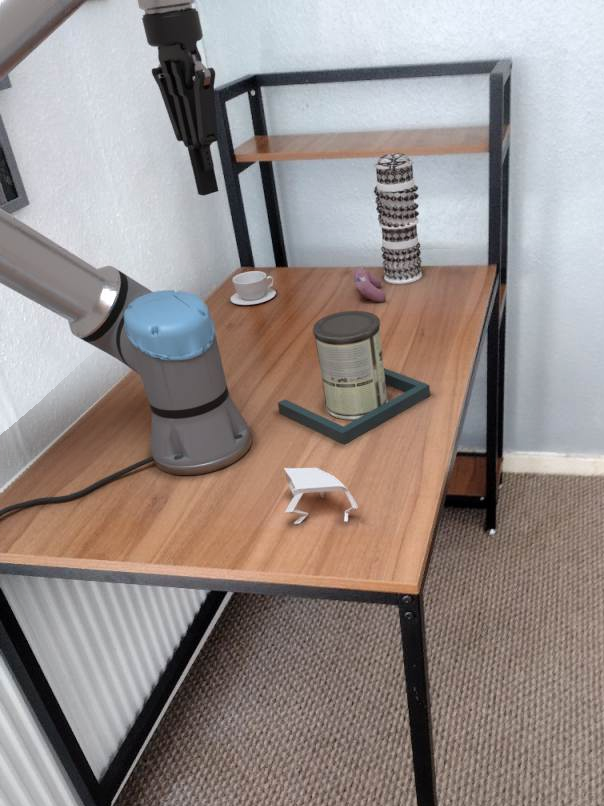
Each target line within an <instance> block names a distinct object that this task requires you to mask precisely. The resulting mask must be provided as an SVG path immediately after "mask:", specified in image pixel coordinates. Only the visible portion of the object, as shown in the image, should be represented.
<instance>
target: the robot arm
mask: <svg viewBox="0 0 604 806" xmlns="http://www.w3.org/2000/svg"><path fill="white" fill-rule="evenodd" d="M88 1H89V0H0V82H1V81H3V80H4V79H5V78H6V77H7V76H8V75H9V74H10V73H11V72H12V71H13V70H15V69H16V67H18V66H19V65H20V64H21V63H22V62H23V61H24V60H25V59H26V58H28V57H29V56H30V55H31V54H32V53H33V52H34V51H35V50H36V49H37V48H38V47H40V45H41V44H42V43H44V42H45V41H46V40H47V39H48V38H49V37H50V36H52V34H53V33H55V31H56V30H58V29H59V28H60V27H61V26H62V25H63V24H64V23H65V22H66V21H67V20H69V19H70V18H71V16H73V15H74V14H75V13H76V12H77V11H79V9H80V8H81V7H82V6H84V4H86V3H87V2H88ZM195 3H196V0H137V4H138V8H139V9H140V10H142V11H143V12H144V14H143V15H142V18H141V20H142V25H143V29H144V33H145V37H146V41H147V44H148V45H149V46H150V47H152V48H153V47H154V48H155V47H156V48H157V58H158V59H157V60H158V62H159V64H158V66H157V67H153V68H151V75H152V77H153V79H154V81H155V83H156V85H157V87H158V89H159V91H160V95H161V97H162V100H163V103H164V106H165V109H166V113H167V115H168V118H169V121H170V125H171V126H172V130H173V132H174V135H175V138H176V141H178V142H183V145H184V147H185V148H187V152H188V156H189V161H190V165H191V167H192V172H193V177H194V181H195V186H196V190H197V195H200V196H207V195H210V194H214V193H217V192H219V187H218V182H217V181H218V180H217V177H216V172H215V165H214V160H213V156H212V150H211V145H212V144H214V143H215V142H217V141H218V139H219V138H218V124H217V112H216V110H217V109H216V98H215V97H216V96H215V80H216V71H215V69H214V67H208V68H207V67H206V66H205V65H204V63H203V61H202V55H201V54H200V51H199V48H198V45H197V43H198V42H199V41H201V40H202V38H203V36H204V35H203V29H202V25H201V19H200V15H199V10H197V8H195V7H193V4H195ZM0 284H2V285H3V286H5V287H7V288H9V289H11V290H13V291H14V292H16V293H18V294H20V295H21V296H23V297H25V298H27V299H29V300H30V301H32V302H33V303H36V304H38V305H40V306H42V307H43V308H44V309H46V310H49V311H50V312H52V313H54V314H55V315H58V316H59V317H61V318H63V319H64V320H67V322H68V327H69V330H70V333H71V334H72V335H73V336H75V337H77V338H78V339H80V340H82V341H84V342H85V343H88V344H89V345H91V346H93V347H95V348H96V349H98V350H100V351H102V352H104V353H106V354H108V355H109V356H110V357H113V358H115V359H117V360H118V361H120V362H121V363H122V364H124V365H125V366H127V367H128V368H129V369H130V370H131V371H134V372H135V373H136V374H137V375H139V377H140V379H141V382H142V385H143V389H144V392H145V395H146V398H147V401H148V404H149V405H148V406H149V408H150V411H151V425H150V440H149V441H150V442H149V443H150V444H149V446H150V454H151V456H148V457H147V458H144V459H142V460H140V461H138V462H136V463H134V464H131V465H129V466H126V467H125V468H123V469H121V470H119V471H116V472H114V473H112V474H110V475H108V476H105V477H104V478H102V479H100V480H98V481H96V482H95V483H93V484H91V485H89V486H87V487H85V488H83V489H81V490H79V491H76V492H73V493H71V494H70V493H69V494H67V495H61V496H49V497H48V496H47V497H39V498H35V499H30V500H26V501H23V502H19V503H15V504H12V505H9V506H5V507H4V508H2V509H0V518H1V517H2V516H4V515H5V514H8V513H10V512H12V511H15V510H19V509H23V508H26V507H30V506H34V505H38V504H47V503H59V502H65V501H66V502H67V501H71V500H74V499H77V498H79V497H82V496H84V495H86V494H88V493H90V492H92V491H94V490H95V489H98V488H99V487H102V486H103V485H105V484H107V483H109V482H111V481H113V480H115V479H117V478H120V477H122V476H123V475H125V474H128V473H130V472H132V471H134V470H137V469H138V468H141V467H143V466H145V465H147V464H149V463H154V465H155V466H156V467H157V469H159V470H161V471H163V472H165V473H167V474H172V475H176V476H177V475H178V476H195V475H203V474H207V473H212V472H215V471H219V470H221V469H223V468H226V467H229V466H230V465H232V464H233V463H236V462H237V461H239V459H241V458H242V457H244V455H246V453H247V452H248V451H249V450H250V449H251V446H252V442H253V438H252V432H251V429H250V426H249V424H248V423H247V421H246V419H245V418H244V416H243V415H242V412H240V409H239V408H238V407H237V405H236V403H235V401H233V398H231V396H230V392H229V388H228V384H227V379H226V376H225V375H226V374H225V370H224V365H223V361H222V357H221V353H220V352H221V351H220V348H219V344H218V338H217V335H216V326H215V322H214V320H213V319H212V316H211V313H210V309H209V307H208V306H207V303H206V302H204V300H202V298H201V297H199V296H198V295H196V294H194V293H191V292H187V291H185V290H184V291H183V290H178V291H175V290H173V289H165V290H157V291H152V290H151V289H149V288H148V287H146V286H145V285H143V284H141V283H139V281H136V280H135V279H133V278H132V277H130V276H128V275H127V274H125V273H123V272H122V271H120V270H119V269H117V268H116V267H114V266H111V265H105V266H102V267H98V268H97V267H95V266H93V265H92V264H90V263H89V262H87V261H85V260H84V259H82V258H80V257H79V256H78V255H76V254H75V253H73V252H71V251H69V250H68V249H66V248H65V247H63V246H62V245H60V244H58V242H57V243H56V242H55V241H53V239H50V238H49V237H47V236H46V235H44V234H43V233H41V232H39V231H37V230H36V229H34V228H33V227H31V226H29V225H28V224H26V223H25V222H23V221H22V220H20V219H19V218H17V217H15V216H14V215H12V214H10V213H9V212H7V211H5V210H4V209H3V208H1V207H0Z"/></svg>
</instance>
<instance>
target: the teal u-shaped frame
mask: <svg viewBox="0 0 604 806" xmlns="http://www.w3.org/2000/svg"><path fill="white" fill-rule="evenodd" d="M384 375H385V384H386V386H390V387H392V388H394V389H397V390H399V391H402V393H401V394H399V395H398V396H396V397H394V398H392V399H390V400H388V402H387V403H385V404H383V405H381V406H380V407H378V408H376V409H374V410H372V411H371V412H369V413H367V414H365V415H363V416H361V417H360V418H358V419H356V420H351V422H349V423H347V424H345V425H341V424H340V423H337V422H335V421H333V420H331V419H329V418H326V417H325V416H322V415H320V414H318V413H315V412H313V411H312V410H309V409H307V408H305V407H302V406H300V405H298V404H297V403H294V402H292V401H290V400H287V399H285V398H284V399H282V400H280V401H278V402H277V406H278V412H279V414H280V415H282V416H284V417H286V418H288V419H291V420H292V421H294V422H297V423H299V424H300V425H303V426H305V427H306V428H309V429H311V430H313V431H316V432H317V433H319V434H321V435H323V436H325V437H327V438H330V439H332V440H334V441H336V442H338V443H340V444H342V445H346V444H349V442H352V441H353V440H355V439H357V438H359V437H360V436H362V435H363V434H366V433H367V432H369V431H371V430H373V429H374V428H376V427H378V426H380V425H381V424H383V423H385V422H387V421H388V420H391V419H392V418H393V417H396V416H397V415H399V414H400V413H403V412H404V411H406V410H408V409H409V408H412V407H414V406H415V405H417V404H418V403H420V402H422V401H424V400H425V399H427V398H429V397H430V396H431V389H430V384H429V383H426V382H423V381H420V380H418V379H416V378H415V379H414V378H412V377H409V376H407V375H404V374H402V373H398V372H397V371H394V370H391V369H388V368H385V367H384Z"/></svg>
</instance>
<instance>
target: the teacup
mask: <svg viewBox="0 0 604 806" xmlns="http://www.w3.org/2000/svg"><path fill="white" fill-rule="evenodd" d="M231 279H232V284H233V287H234V289H235V293H234V294H233V295H231V297H230V302H231V303H233V304H234V305H235V304H236V305H241V306H249V305H257V304H262V303H264V302H267V301H270V300H271V299H272V298H274V297H275V296H276V293H277V292H276V290H275V289H273V288H271V287H273V285H274V282H275V281H274V277H272V276H271V275H268V276H267V273H266V272H264V271H258V270H253V271H246V272H241V273H239V274H236V275H235V276H233V277H232V278H231ZM269 280H271V282H270V283H269V284H268V281H269Z"/></svg>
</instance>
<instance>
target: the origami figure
mask: <svg viewBox="0 0 604 806" xmlns="http://www.w3.org/2000/svg"><path fill="white" fill-rule="evenodd" d="M283 470H284V474H285V480H286V482H287V485H288V487H289V489H290V490H291V493H292V499H291V500H290V503H289V504H288V506H287V508H286V509H285V511H284V514H292V515H293V514H294V515H300V516H299V517H298V518H297V519H296V520H295V521H294V522H293V525H299V524H301V523H302V522H303V521H304V520H305V519H306V517H307V516H308V515H309V513H308V512H306V511H302V510H299V509H295V508H296V507H297V505H298V504H299V502H300V500H301V498H302V496H303V495H304V494H307V493H308V494H309V493H319V496H320V498H325V495H324V493H325V492H336V491H337V492H338V491H339V492H340V491H344V493H345V495H346V496H347V498H348V500H349V502H350V505H351V507H349V508H347V509H346V510H344V520H343V521H344V522H346V523H347V522H349V513H351V512H353V511H355V510H357V509H358V507H359V505H358V504H357V502H356V499H355V498H354V497H353V496H354V495H352V493H351V492H350V491H349V488H348V487H347V486H346V485H344V484H343V482H341V481H340V480H339V478H337V477H336V476H334V475H333V474H330V473H329V472H327V471H324V470H323V469H320V468H319V467H283Z"/></svg>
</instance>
